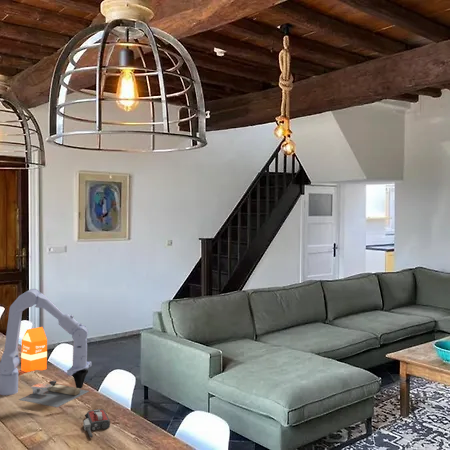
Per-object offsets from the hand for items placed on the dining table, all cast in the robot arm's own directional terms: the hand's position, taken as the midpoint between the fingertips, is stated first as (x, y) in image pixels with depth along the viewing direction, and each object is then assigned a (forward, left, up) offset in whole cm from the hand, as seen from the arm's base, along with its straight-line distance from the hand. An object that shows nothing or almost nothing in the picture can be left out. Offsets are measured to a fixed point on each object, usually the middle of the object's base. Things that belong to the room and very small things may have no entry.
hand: (79, 387), depth 210 cm
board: (-5, -9, -2) cm, 11 cm away
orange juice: (-39, +17, -2) cm, 43 cm away
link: (-4, -5, -1) cm, 7 cm away
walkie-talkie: (+27, -26, -3) cm, 38 cm away
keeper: (-11, -10, -1) cm, 15 cm away
